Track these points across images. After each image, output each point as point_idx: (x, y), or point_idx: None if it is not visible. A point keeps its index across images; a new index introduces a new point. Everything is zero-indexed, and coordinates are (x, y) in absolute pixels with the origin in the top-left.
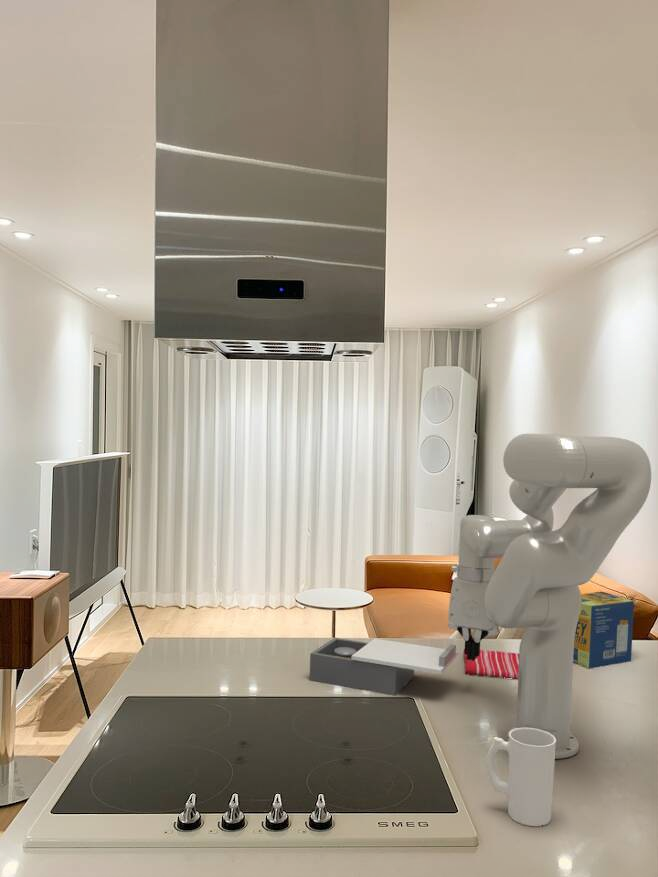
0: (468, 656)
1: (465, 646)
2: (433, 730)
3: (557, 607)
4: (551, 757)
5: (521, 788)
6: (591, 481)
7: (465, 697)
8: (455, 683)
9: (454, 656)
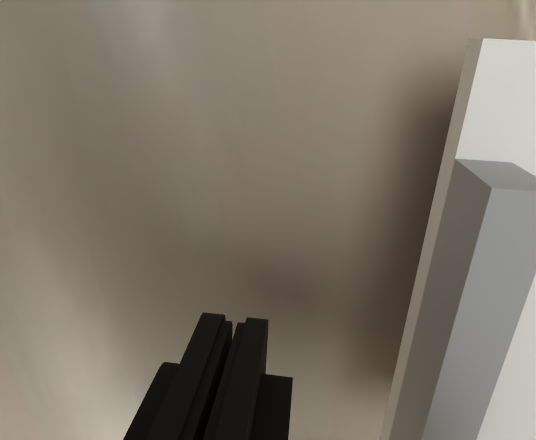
0: (247, 332)
1: (279, 432)
2: None
3: None
4: None
5: None
6: None
7: (286, 202)
8: (358, 352)
9: (386, 436)
